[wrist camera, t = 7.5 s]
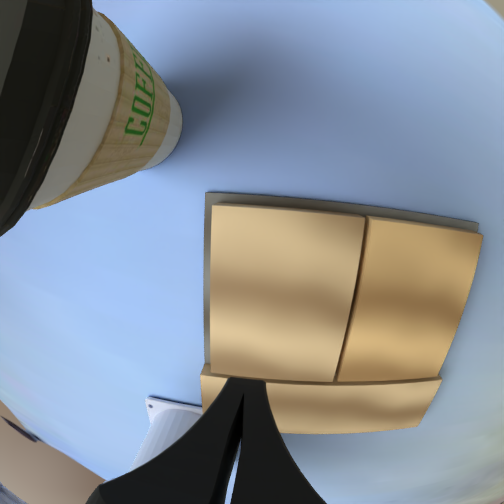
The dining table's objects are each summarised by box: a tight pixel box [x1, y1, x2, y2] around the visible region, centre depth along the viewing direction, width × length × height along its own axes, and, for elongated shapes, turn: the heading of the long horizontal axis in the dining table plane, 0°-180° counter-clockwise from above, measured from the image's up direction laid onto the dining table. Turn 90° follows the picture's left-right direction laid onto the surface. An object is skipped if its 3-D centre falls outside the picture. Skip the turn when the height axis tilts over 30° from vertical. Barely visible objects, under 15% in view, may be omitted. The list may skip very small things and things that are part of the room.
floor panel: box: [200, 192, 479, 434], centre depth 20 cm, size 19×20×2 cm
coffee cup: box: [0, 0, 183, 237], centre depth 11 cm, size 10×10×15 cm
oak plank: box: [335, 216, 483, 382], centre depth 18 cm, size 12×9×1 cm
